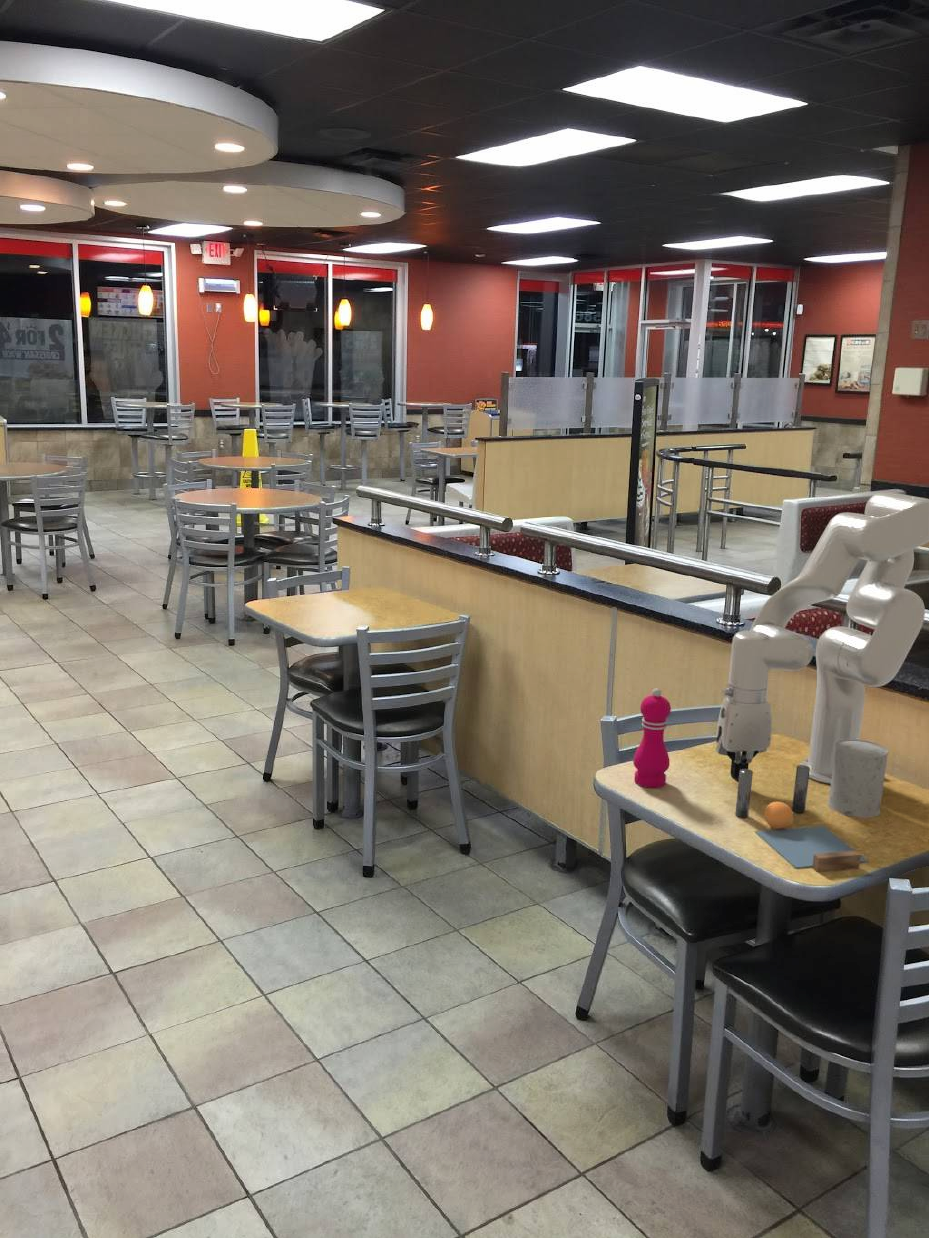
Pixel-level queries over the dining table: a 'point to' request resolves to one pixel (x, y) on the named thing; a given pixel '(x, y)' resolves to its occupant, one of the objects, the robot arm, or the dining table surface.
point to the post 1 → (744, 793)
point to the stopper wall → (836, 861)
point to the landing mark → (804, 844)
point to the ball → (778, 815)
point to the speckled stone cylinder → (858, 778)
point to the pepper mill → (652, 742)
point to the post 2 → (800, 789)
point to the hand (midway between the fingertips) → (738, 779)
